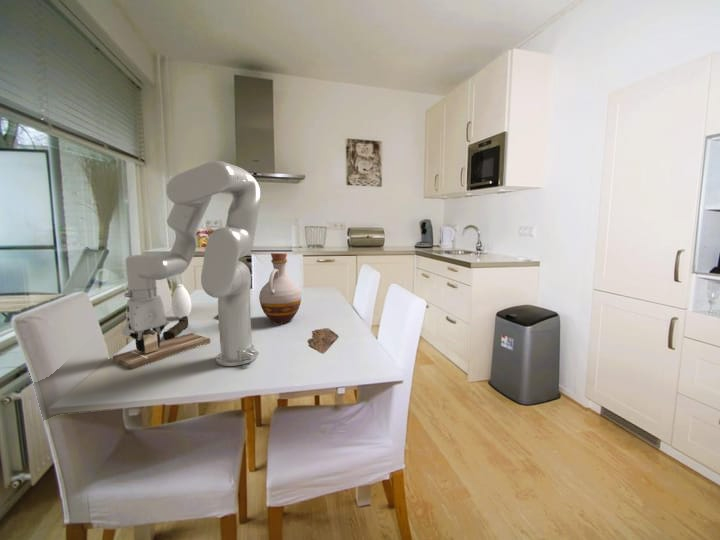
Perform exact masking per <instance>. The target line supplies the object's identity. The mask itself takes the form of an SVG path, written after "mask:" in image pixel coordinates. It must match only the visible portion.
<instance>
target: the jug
mask: <svg viewBox="0 0 720 540" xmlns="http://www.w3.org/2000/svg"><path fill="white" fill-rule="evenodd" d="M270 256H271V260H270V261H271V264H272V266H273V267H272V268H273V270H272V271H271V273H270V275H269V279H268V281H267V282H266V283H265V284H264V286H263V287H262V288H261V290H260V291H259V295H258V296H259V297H258V300H259V304H260V307H261V309H262V312H263V313H264V314H265V316H266V317H267V318H268V319H269V320H270V322H272V323H273V324H280V325H281V324H285V323H286V324H287V323H289V322H291V321H292V320H293V318H294V317H295V315H296V314H297V313H298V311H299V309H300V306H301V304H302V303H301V302H302V291H301V289H300V287H299V286H298V285H297V284H296V283H295V282H294V281H292V280H291V278H290V277H288V276H287V274H286V264H287V262H288V259H287V256H288V253H286V252H275V253H274V252H271V253H270Z"/></svg>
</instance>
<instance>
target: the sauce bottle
mask: <svg viewBox="0 0 720 540" xmlns="http://www.w3.org/2000/svg"><path fill="white" fill-rule="evenodd" d="M171 308H172V312H173V314H174V315H175V317H177V318H179V319H180V318H182V317H184V316H187V317H188V316H189V315H190V314H191V311H192V300H191V296H190V293H189V291H188V290H187V289H186V287H185V286H184V284H182V283H181V279H180V278H179V279H178V284H177V285H176V287H175V289H174V292H173V294H172V297H171Z"/></svg>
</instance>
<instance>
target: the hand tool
mask: <svg viewBox="0 0 720 540" xmlns="http://www.w3.org/2000/svg"><path fill="white" fill-rule="evenodd" d="M188 327H189V318H188V316H184V317H182V318H179V319H178V322H177V323H176V324H174V325H173V326H172V327H170V328H169V329H167V330H166V331H163V334H162V338H163V341H165V340H169V339H172V338H175V337H177V335H179V334H180V333H181V332H182V331H183V330H187V329H188ZM186 328H187V329H186Z"/></svg>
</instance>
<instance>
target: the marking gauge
mask: <svg viewBox="0 0 720 540" xmlns="http://www.w3.org/2000/svg"><path fill="white" fill-rule="evenodd" d="M142 339H143V340H144V349H145V351H144V352H143V353H145V354H146V353H149V352H152V351H155V350H158V340H157V332H155V331H154V330H152V329H148V330H144V331H142Z"/></svg>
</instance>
